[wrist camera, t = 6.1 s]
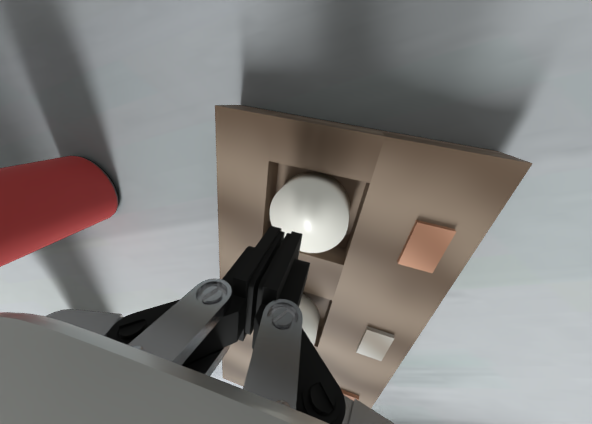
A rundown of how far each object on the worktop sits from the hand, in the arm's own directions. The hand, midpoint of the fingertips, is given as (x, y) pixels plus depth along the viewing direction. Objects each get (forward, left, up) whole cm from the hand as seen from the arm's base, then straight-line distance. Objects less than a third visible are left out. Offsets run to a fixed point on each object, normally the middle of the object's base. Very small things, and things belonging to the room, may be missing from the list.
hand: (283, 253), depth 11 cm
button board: (-9, -2, -7) cm, 11 cm away
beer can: (-4, +22, -7) cm, 23 cm away
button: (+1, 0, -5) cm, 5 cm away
